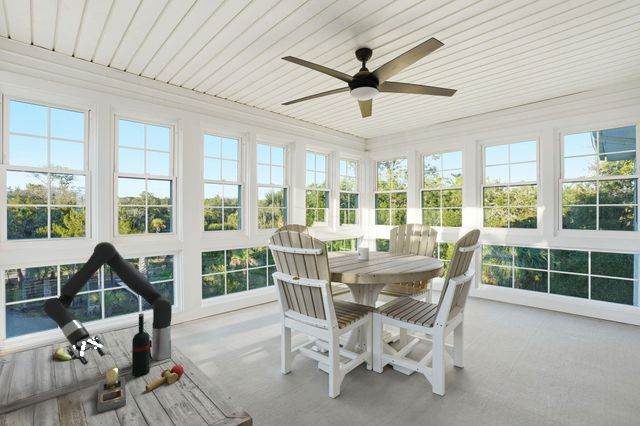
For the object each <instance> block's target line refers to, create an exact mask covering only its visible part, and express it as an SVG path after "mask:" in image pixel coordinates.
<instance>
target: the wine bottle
mask: <svg viewBox="0 0 640 426" xmlns="http://www.w3.org/2000/svg"><path fill="white" fill-rule="evenodd" d="M144 315H145V314H144V313H138V332H137V333H135V334H134V336H133V337H132V341H131V344H132V345H131V346H132V347H131V348H132V349H131V351H132V352H131V376H132V377H133V376H134V378H139V377H140V376H141V377H145V376H146V375H148V374H149V373H150V371H151V370H150V369H151V368H150V367H151V364H150V363H151V362H150V361H151V360H153V359H152V339H151V337H150V335H149V333H147V332H146V331H144V330H145V328H144V327H145V326H144V323H145V322H144V320H145V319H144V318H145V316H144ZM150 359H151V360H150Z"/></svg>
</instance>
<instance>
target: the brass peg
mask: <svg viewBox="0 0 640 426" xmlns="http://www.w3.org/2000/svg"><path fill="white" fill-rule="evenodd" d="M105 375H106V380H105V381H106V389H105V390H109V389H113V388H117V387H119V386H118V378H119V366H111V367H109V368H107V369H106V374H105Z"/></svg>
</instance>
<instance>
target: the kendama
mask: <svg viewBox="0 0 640 426" xmlns="http://www.w3.org/2000/svg"><path fill="white" fill-rule="evenodd" d="M184 372H185V371H184V368H183V366H182V365H180V364H176V365H174V366H173V367H171V369H169V368H165V369H163V370H162V371H161V374H160V378H158V379H157V380H155V381H152V382H151V383H148V384H146V385H145V386H144V387H145V391H146V392H148V393H150V392H151V391H152V390H154V389H155V388H156V387H158V386H160V385H161V384H162V383H164V382H165V381H166V380H167V383H168V384H169V385H171V384H174V383H175V382H177V380H178V379H179V378H181V377H182V376H183V374H184Z"/></svg>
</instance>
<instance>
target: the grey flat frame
mask: <svg viewBox="0 0 640 426" xmlns="http://www.w3.org/2000/svg"><path fill="white" fill-rule="evenodd" d="M126 395H127V393H126V377H125V376H122V377H118V387H117V388H113V389H109V390H106V380H104V381H100V382H99V385H98V396H97V403H96V405H97V406H96V413H97V414H100V413H103V412H107V411H111V410H114V409H118V408H121V407H125V406H127V396H126Z"/></svg>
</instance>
